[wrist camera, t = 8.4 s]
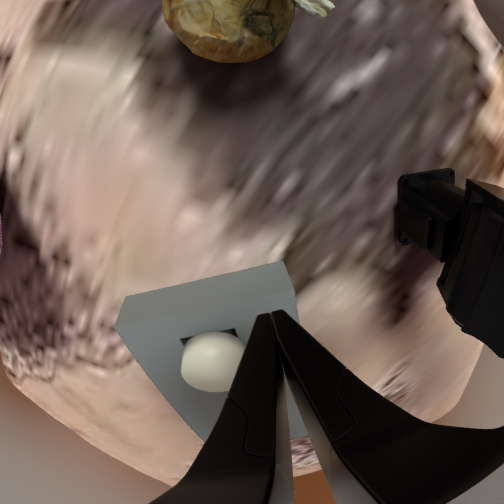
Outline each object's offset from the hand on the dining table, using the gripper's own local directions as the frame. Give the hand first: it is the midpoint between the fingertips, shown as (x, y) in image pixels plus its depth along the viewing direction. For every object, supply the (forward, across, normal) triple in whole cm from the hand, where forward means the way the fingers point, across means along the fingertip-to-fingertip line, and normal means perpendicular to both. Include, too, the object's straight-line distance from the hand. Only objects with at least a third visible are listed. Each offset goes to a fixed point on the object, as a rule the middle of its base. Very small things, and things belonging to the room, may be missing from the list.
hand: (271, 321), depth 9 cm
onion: (+13, -2, -13) cm, 19 cm away
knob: (+13, +5, +10) cm, 17 cm away
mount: (+13, +5, +19) cm, 24 cm away
